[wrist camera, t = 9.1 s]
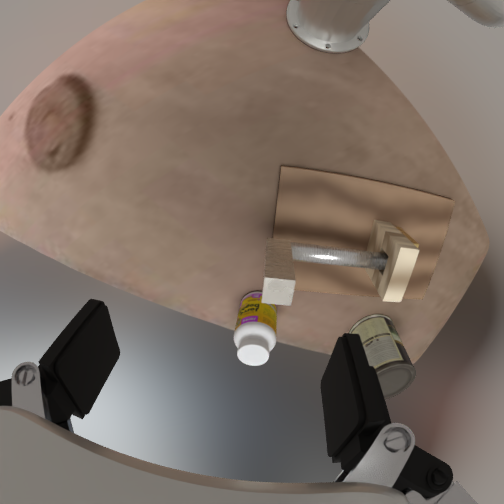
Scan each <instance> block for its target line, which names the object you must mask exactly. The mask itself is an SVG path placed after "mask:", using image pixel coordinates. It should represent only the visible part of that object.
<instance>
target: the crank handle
mask: <svg viewBox="0 0 504 504" xmlns="http://www.w3.org/2000/svg"><path fill="white" fill-rule="evenodd" d="M388 257H389V256H388V255H387V254H386V253H379V252H371V251H363V250H355V249H347V248H339V247H330V246H322V245H313V244H304V243H295V242H290V240H282V239H273V238H267V242H266V251H265V262H264V276H263V289H262V303H269V304H279V305H289V306H291V302H292V297H293V292H294V287H295V282H296V279H295V271H294V263H293V261H301V262H310V263H319V264H329V265H338V266H348V267H358V268H367V269H377V270H385V267H386V263H387V260H388Z"/></svg>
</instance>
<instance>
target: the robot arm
mask: <svg viewBox="0 0 504 504" xmlns="http://www.w3.org/2000/svg"><path fill="white" fill-rule="evenodd" d="M389 1H390V0H298V1H296V0H290V2H289V4H288V7H287V12H286V17H287V22H288V25H289V27H290V29H291V30H292V32H293V33H294V35H295V36H296V37H297V38H298V39H299V40H301V41H302V42H303V43H305V44H306V45H308V46H310V47H312V48H314V49H317V50H319V51H323V52H327V53H345V52H349V51H352V50H354V49H356V48H358V47H359V46H360V45H361V44H362V43H363V42H364V41H365V39H366V38H367V36H368V32H369V21H370V20H371V19H372V18H373V17H374V16H375V15H376V14H377V13H378V12H379V11H380V10H381V9H382V8H383V7H384V6H385V5H386V4H387V3H388V2H389ZM447 1H449V2H450V3H452V4H453V5H454V6H455V7H457V8H458V9H459V10H460V11H462V12H463V13H464V14H466V15H467V16H468V17H470V18H471V19H472V20H474V21H476V22H477V23H479V24H481V25H484V26H487V27H495V28H496V27H503V26H504V0H447ZM294 27H297V28H294ZM358 39H359V40H360V41H359V40H358ZM326 47H328V49H327V48H326ZM119 356H120V349H119V346H118V343H117V340H116V337H115V333H114V330H113V326H112V322H111V319H110V315H109V311H108V308H107V306H105V304H104V302H103V301H99V300H94V299H90V300H89V301H88V302H87V303H86V304H85V305H84V306H83V308H82V309H81V310H80V311H79V312H78V313H77V315H76V316H75V317H74V318H73V319H72V320H71V322H70V323H69V324H68V325H67V326H66V328H65V329H64V330H63V331H62V332H61V334H60V335H59V336H58V337H57V339H56V340H55V341H54V342H53V344H52V345H51V347H49V349H48V350H47V351H46V353H45V354H44V355H43V357H42V358H41V359H40V361H39V364H40V365H39V366H38V367H37V366H36V365H35V364H34V363H31V362H24V363H21V364H20V365H18V366H17V367H16V368H15V369H14V371H13V373H12V378H11V379H8V380H4V381H1V382H0V504H477V502H476V501H475V500H474V499H473V498H472V497H471V496H470V495H469V494H468V493H467V492H466V490H465V489H464V488H463V487H462V486H461V485H460V484H459V483H458V482H455V483H454V482H453V481H452V480H453V473H452V469H451V468H450V466H449V465H447V464H446V463H445V462H443V461H441V460H440V459H438V458H436V457H434V456H432V455H431V454H429V453H427V452H426V451H424V450H422V449H420V448H419V447H417V446H415V437H414V435H413V432H412V431H411V430H410V428H408V427H407V426H406V425H403V424H400V423H392V424H391V421H390V417H389V413H388V409H387V406H386V402H385V399H384V395H383V392H382V389H381V385H380V382H379V379H378V376H377V373H376V370H375V368H374V367H373V366H369V363H368V359H367V356H366V353H365V350H364V347H363V344H362V341H361V338H360V335H359V334H350V333H344V334H343V336H342V337H339V338H338V340H337V342H336V345H335V347H334V350H333V353H332V355H331V358H330V360H329V363H328V365H327V368H326V370H325V373H324V375H323V377H322V380H321V394H322V402H323V410H324V420H325V430H326V441H327V452H328V456H329V457H332V461H333V463H337V462H341V468H342V469H343V471H342V472H341V473H340V474H339V475H338V477H337V478H336V479H335V481H333V482H332V483H331V482H330V483H269V482H252V481H242V480H233V479H225V478H218V477H211V476H206V475H200V474H195V473H190V472H185V471H181V470H176V469H172V468H168V467H164V466H160V465H157V464H153V463H150V462H146V461H143V460H140V459H137V458H134V457H131V456H128V455H125V454H122V453H119V452H117V451H114V450H111V449H109V448H106V447H103V446H101V445H99V444H96V443H94V442H92V441H89V440H87V439H85V438H83V437H81V436H78V435H76V434H74V431H73V427H72V424H71V419H70V417H71V415H72V414H73V415H75V416H77V417H79V418H81V419H83V418H84V416H85V414H88V413H89V412H90V410H91V408H92V406H93V404H94V402H95V401H96V399H97V397H98V395H99V393H100V391H101V389H102V387H103V386H104V384H105V382H106V380H107V378H108V376H109V375H110V373H111V371H112V369H113V367H114V366H115V364H116V362H117V360H118V359H119Z"/></svg>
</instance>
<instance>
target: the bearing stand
mask: <svg viewBox="0 0 504 504" xmlns="http://www.w3.org/2000/svg"><path fill="white" fill-rule="evenodd" d="M454 203H455V201H454V200H452V199H449V198H446V197H442V196H439V195H435V194H431V193H428V192H424V191H420V190H416V189H412V188H408V187H403V186H399V185H395V184H390V183H386V182H381V181H376V180H371V179H366V178H361V177H356V176H350V175H345V174H339V173H333V172H326V171H320V170H313V169H306V168H299V167H291V166H283V165H281V170H280V179H279V188H278V196H277V205H276V213H275V222H274V230H273V239H282V240H290V242H295V243H304V244H313V245H322V246H330V247H339V248H347V249H355V250H363V251H371V252H379V253H386V254H387V255H388V256H389V257H388V260H387V263H386V267H385V270H377V269H367V268H358V267H348V266H338V265H329V264H319V263H310V262H301V261H293V263H294V271H295V279H296V282H295V287H294V290H299V291H310V292H321V293H333V294H346V295H359V296H373V297H381V299H382V301H389V302H401V300H402V298H405V299H423V297H424V295H425V292H426V290H427V288H428V285H429V283H430V280H431V277H432V275H433V272H434V269H435V267H436V264H437V261H438V258H439V255H440V252H441V249H442V246H443V243H444V240H445V237H446V233H447V230H448V226H449V223H450V219H451V215H452V212H453V208H454ZM395 226H396V227H401V228H402V229H403V230H404V231H405V232H406V233H407V234H408V235H409V236H411V237H412V238H413V239H414V240H415V241H416V242H417V243H418V244H419V247H418V248H417V247H416V246H415V245H414V244H413V243H412V242H411V241H410V240H409V239H408V238H407V237H406V236H405V235H403V234H402V233H401V232H400V231H399V230H398V229H397V228H396V227H395Z"/></svg>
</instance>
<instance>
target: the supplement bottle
mask: <svg viewBox="0 0 504 504" xmlns="http://www.w3.org/2000/svg"><path fill="white" fill-rule="evenodd" d="M276 320H277V306H276V304H269V303H262V292H259V291H257V292H251V293H249V294H247V295H246V296H245V297H244V298H243V299H242V301H241V303H240V308H239V313H238V318H237V323H236V328H235V333H234V342H235V345H236V346H237V348H238V352H237V355H238V358H239V359H240V361H242V362H243V363H245V364H247V365H251V366H257V365H261V364H264V363H265V362H266V361H267V360H268V358H269V352H270V351H271V350H272V349H273V347H274V346H275V343H276Z"/></svg>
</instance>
